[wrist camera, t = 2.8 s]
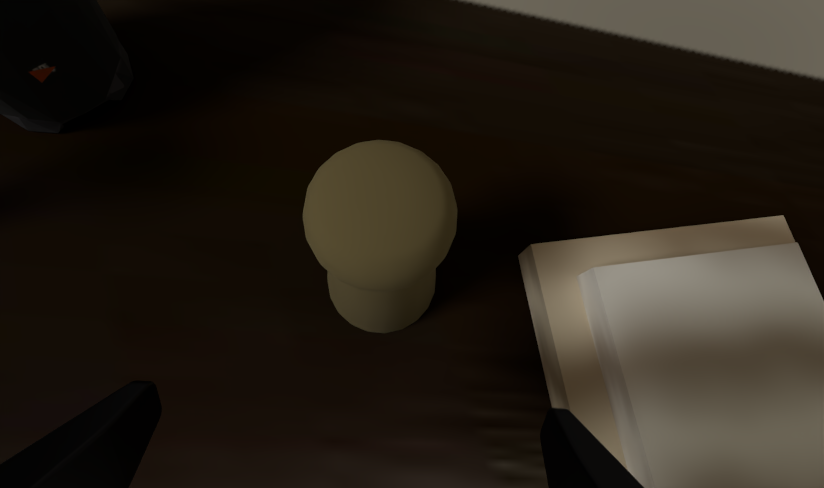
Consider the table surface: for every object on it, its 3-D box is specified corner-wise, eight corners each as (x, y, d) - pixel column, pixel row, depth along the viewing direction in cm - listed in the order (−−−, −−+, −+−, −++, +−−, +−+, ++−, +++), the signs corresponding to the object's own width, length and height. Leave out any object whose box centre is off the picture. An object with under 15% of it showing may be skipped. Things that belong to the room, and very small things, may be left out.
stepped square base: (863, 503, 21) (971, 531, 17) (586, 559, 19) (636, 604, 15) (750, 228, 25) (815, 202, 21) (517, 256, 24) (543, 232, 20)
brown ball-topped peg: (327, 229, 23) (282, 110, 13) (431, 225, 24) (468, 108, 13) (327, 336, 22) (274, 298, 11) (440, 330, 22) (491, 287, 12)
